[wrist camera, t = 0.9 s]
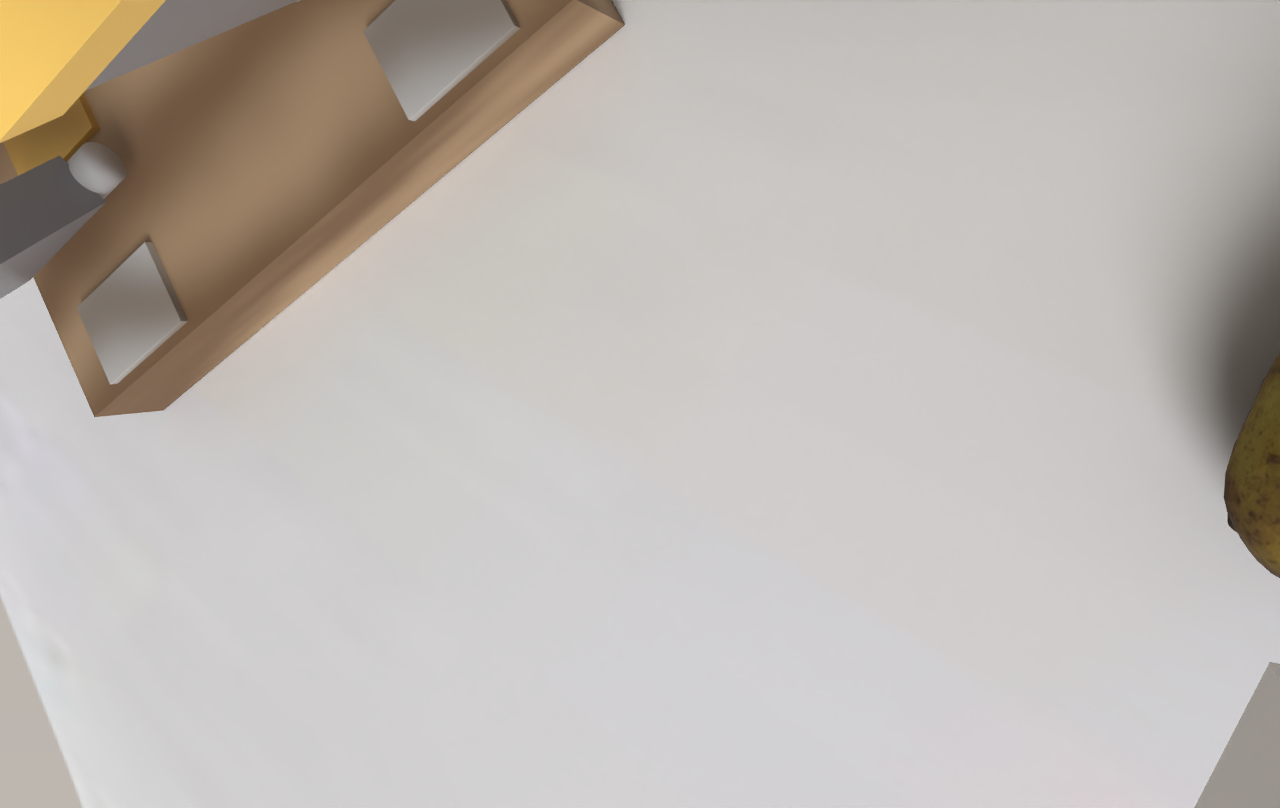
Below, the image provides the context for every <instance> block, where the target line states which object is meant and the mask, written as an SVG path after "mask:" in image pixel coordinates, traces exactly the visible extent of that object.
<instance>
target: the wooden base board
mask: <svg viewBox="0 0 1280 808" xmlns="http://www.w3.org/2000/svg"><path fill="white" fill-rule="evenodd" d="M624 25H625V24H624V23H623V21H622V19H621V17H620V16H619V14H618V12H617V10H616V8H615V7H614V5H613V3H612V1H611V0H300V1H298V2H294V3H291V4H289V5H286V6H284V7H282V8H279V9H277V10H275V11H272V12H270V13H268V14H265V15H263V16H261V17H258V18H256V19H253V20H251V21H249V22H246V23H244V24H242V25H239V26H237V27H235V28H232V29H230V30H228V31H225V32H223V33H220V34H218V35H216V36H213V37H211V38H209V39H206V40H204V41H202V42H199V43H197V44H194V45H192V46H190V47H187V48H185V49H183V50H180V51H178V52H176V53H173V54H171V55H169V56H166V57H164V58H161V59H159V60H157V61H154V62H152V63H150V64H147V65H145V66H143V67H140V68H138V69H136V70H133V71H131V72H128V73H126V74H124V75H121V76H119V77H117V78H114V79H112V80H110V81H107V82H105V83H103V84H100V85H98V86H95V87H93V88H91V89H88V90H86V91H84V92H83V93H82V95H81V96H80V97H79V98H78V99H77V100H76V101H75V102H74V104H73V105H72V106H71V107H70V108H69V109H68V110H67V111H66V112H65V114H64V115H63V116H60V117H58V118H56V119H54V120H51V121H49V122H47V123H45V124H42V125H40V126H38V127H36V128H33V129H31V130H29V131H27V132H24V133H22V134H20V135H18V136H15V137H13V138H11V139H9V140H6V141H4V142H2V143H0V185H1V184H3V183H5V182H7V181H9V180H11V179H13V178H15V177H17V176H19V175H21V174H23V173H25V172H27V171H29V170H31V169H33V168H35V167H37V166H39V165H41V164H43V163H45V162H47V161H49V160H51V159H53V158H55V157H57V156H59V155H60V156H61V157H62V158H63V159H64V160H65V161H66V162H67V161H68V160H69V159H70V158H71V157H72V156H73V155H74V154H75V153H76V151H77V150H78V149H79V148H80V147H81V146H82V145H83V144H85V143H87V142H95V143H99V144H102V145H104V146H106V147H108V148H109V149H111V150H112V151H113V152H115V153H116V154H117V155H118V156H119V158H120V159H121V160H122V162H123V164H124V166H125V168H126V176H125V178H124V179H123V180H122V181H121V182H120V184H119V185H118V186H117V187H116V188H115V189H114V190H113V191H112V192H111V193H110V194H109V195H108V196H107V197H106V198H105V199H104V200H105V201H106V203H105V204H104V205H103V206H102V207H101V208H100V209H99V210H98V211H97V212H96V213H95V214H94V215H93V216H92V217H91V218H90V219H89V220H88V221H87V222H86V223H85V224H84V225H83V226H82V227H81V228H80V229H79V230H78V231H77V232H76V233H75V234H74V236H73V237H72V238H71V239H70V240H69V241H68V242H67V243H66V244H65V245H64V246H63V247H62V248H61V249H60V250H59V251H58V252H57V253H56V254H55V255H54V256H53V257H52V258H51V259H50V260H49V261H48V262H47V263H46V264H45V265H44V266H43V267H42V268H41V269H40V270H39V271H38V272H37V273H36V274H35V275H34V276H33V277H34V279H35V282H36V284H37V286H38V289H39V291H40V293H41V295H42V298H43V300H44V302H45V305H46V307H47V309H48V311H49V314H50V316H51V318H52V321H53V323H54V325H55V328H56V330H57V332H58V334H59V337H60V339H61V341H62V344H63V346H64V348H65V350H66V353H67V355H68V357H69V360H70V362H71V364H72V367H73V369H74V371H75V373H76V376H77V378H78V380H79V383H80V385H81V387H82V389H83V392H84V394H85V396H86V399H87V401H88V403H89V406H90V408H91V410H92V412H93V415H94V417H99V416H110V415H120V414H130V413H141V412H151V411H161V410H164V409H165V408H167V407H168V406H169V405H170V404H171V403H173V402H174V401H175V400H176V399H177V398H179V397H180V396H181V395H182V394H183V393H184V392H186V391H187V390H188V389H189V388H190V387H192V386H193V385H194V384H195V383H196V382H198V381H199V380H200V379H201V378H202V377H204V376H205V375H206V374H207V373H208V372H210V371H211V370H212V369H213V368H214V367H216V366H217V365H218V364H219V363H220V362H222V361H223V360H224V359H225V358H226V357H228V356H229V355H230V354H231V353H232V352H234V351H235V350H236V349H237V348H238V347H240V346H241V345H242V344H243V343H244V342H246V341H247V340H248V339H249V338H250V337H252V336H253V335H254V334H255V333H256V332H258V331H259V330H260V329H261V328H262V327H264V326H265V325H266V324H267V323H268V322H270V321H271V320H272V319H273V318H274V317H275V316H277V315H278V314H279V313H280V312H281V311H283V310H284V309H285V308H286V307H287V306H289V305H290V304H291V303H292V302H293V301H295V300H296V299H297V298H298V297H299V296H301V295H302V294H303V293H304V292H305V291H307V290H308V289H309V288H310V287H311V286H313V285H314V284H315V283H316V282H317V281H319V280H320V279H321V278H322V277H323V276H325V275H326V274H327V273H328V272H329V271H331V270H332V269H333V268H334V267H335V266H337V265H338V264H339V263H340V262H341V261H343V260H344V259H345V258H346V257H347V256H349V255H350V254H351V253H352V252H353V251H355V250H356V249H357V248H358V247H359V246H361V245H362V244H363V243H364V242H365V241H367V240H368V239H369V238H370V237H371V236H372V235H374V234H375V233H376V232H377V231H378V230H380V229H381V228H382V227H383V226H384V225H386V224H387V223H388V222H389V221H390V220H392V219H393V218H394V217H395V216H396V215H398V214H399V213H400V212H401V211H402V210H404V209H405V208H406V207H407V206H408V205H410V204H411V203H412V202H413V201H414V200H416V199H417V198H418V197H419V196H420V195H422V194H423V193H424V192H425V191H426V190H428V189H429V188H430V187H431V186H432V185H434V184H435V183H436V182H437V181H438V180H440V179H441V178H442V177H443V176H444V175H446V174H447V173H448V172H449V171H450V170H452V169H453V168H454V167H455V166H456V165H458V164H459V163H460V162H461V161H462V160H463V159H465V158H466V157H467V156H468V155H469V154H471V153H472V152H473V151H474V150H475V149H477V148H478V147H479V146H480V145H481V144H483V143H484V142H485V141H486V140H487V139H489V138H490V137H491V136H492V135H493V134H495V133H496V132H497V131H498V130H499V129H501V128H502V127H503V126H504V125H505V124H507V123H508V122H509V121H510V120H511V119H513V118H514V117H515V116H516V115H517V114H519V113H520V112H521V111H522V110H523V109H525V108H526V107H527V106H528V105H529V104H531V103H532V102H533V101H534V100H535V99H537V98H538V97H539V96H540V95H541V94H543V93H544V92H545V91H546V90H547V89H549V88H550V87H551V86H552V85H553V84H555V83H556V82H557V81H558V80H559V79H560V78H562V77H563V76H564V75H565V74H566V73H568V72H569V71H570V70H571V69H572V68H574V67H575V66H576V65H577V64H578V63H580V62H581V61H582V60H583V59H584V58H586V57H587V56H588V55H589V54H590V53H592V52H593V51H594V50H595V49H596V48H598V47H599V46H600V45H601V44H602V43H604V42H605V41H606V40H607V39H608V38H610V37H611V36H612V35H613V34H614V33H616V32H617V31H618V30H619V29H620V28H622V27H623V26H624Z"/></svg>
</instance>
